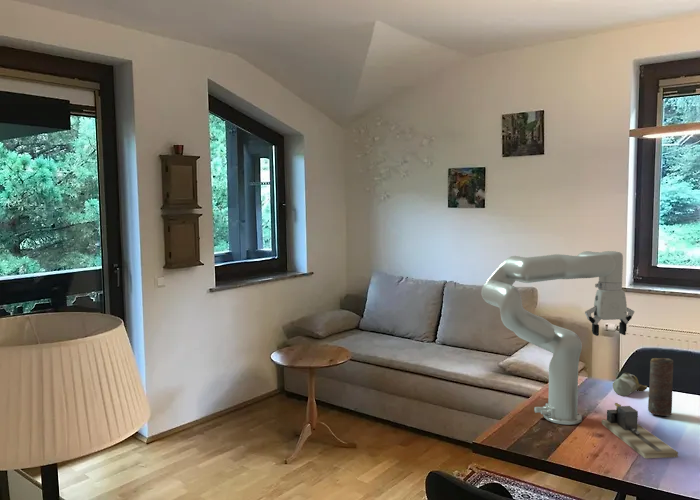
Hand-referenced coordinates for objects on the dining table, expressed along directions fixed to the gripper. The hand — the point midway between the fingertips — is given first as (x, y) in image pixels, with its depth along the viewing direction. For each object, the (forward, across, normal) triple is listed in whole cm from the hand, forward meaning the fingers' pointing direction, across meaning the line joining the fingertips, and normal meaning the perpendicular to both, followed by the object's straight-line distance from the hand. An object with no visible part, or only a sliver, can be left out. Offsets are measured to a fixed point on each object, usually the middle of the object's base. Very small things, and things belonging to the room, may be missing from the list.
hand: (609, 334), depth 202 cm
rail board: (+28, -2, -23) cm, 37 cm away
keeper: (+27, -2, -11) cm, 29 cm away
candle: (+28, +17, -4) cm, 33 cm away
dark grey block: (+27, -2, -19) cm, 33 cm away
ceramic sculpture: (+29, +18, +19) cm, 39 cm away
